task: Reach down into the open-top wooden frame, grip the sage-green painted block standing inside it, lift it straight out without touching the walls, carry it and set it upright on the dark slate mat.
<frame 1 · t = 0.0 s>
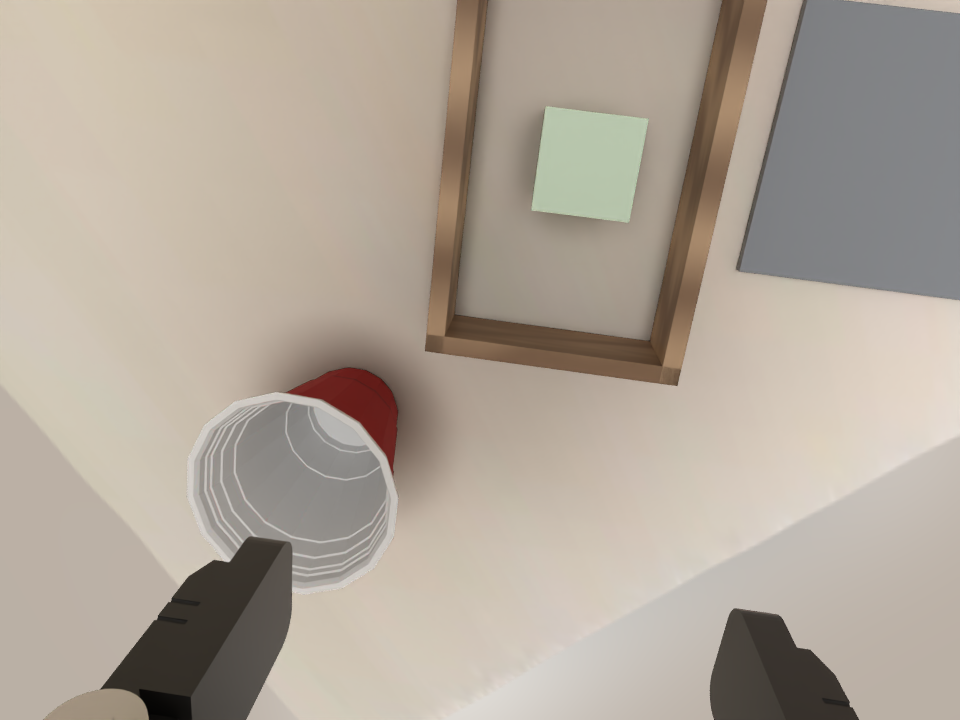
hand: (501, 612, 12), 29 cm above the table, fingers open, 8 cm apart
wooden frame: (578, 158, 37), on the table
sage block: (582, 161, 33), in the wooden frame
slate mat: (898, 158, 36), on the table
plastic cup: (353, 403, 44), on the table
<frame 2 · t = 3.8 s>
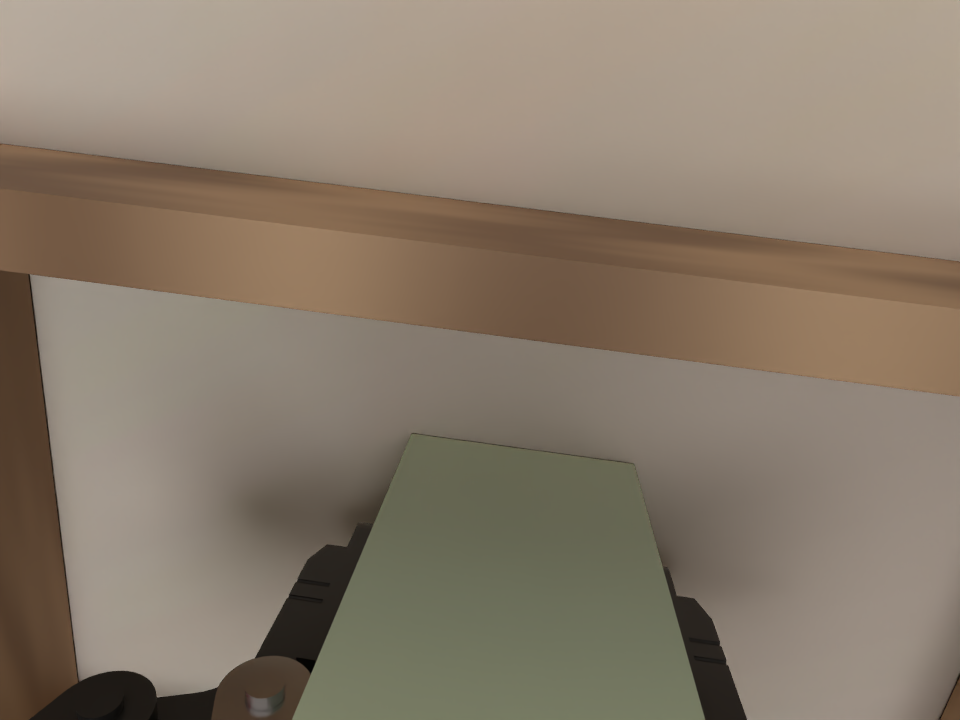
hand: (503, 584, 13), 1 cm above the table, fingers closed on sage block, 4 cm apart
wooden frame: (506, 544, 14), on the table
sage block: (496, 694, 10), in the wooden frame, touching gripper
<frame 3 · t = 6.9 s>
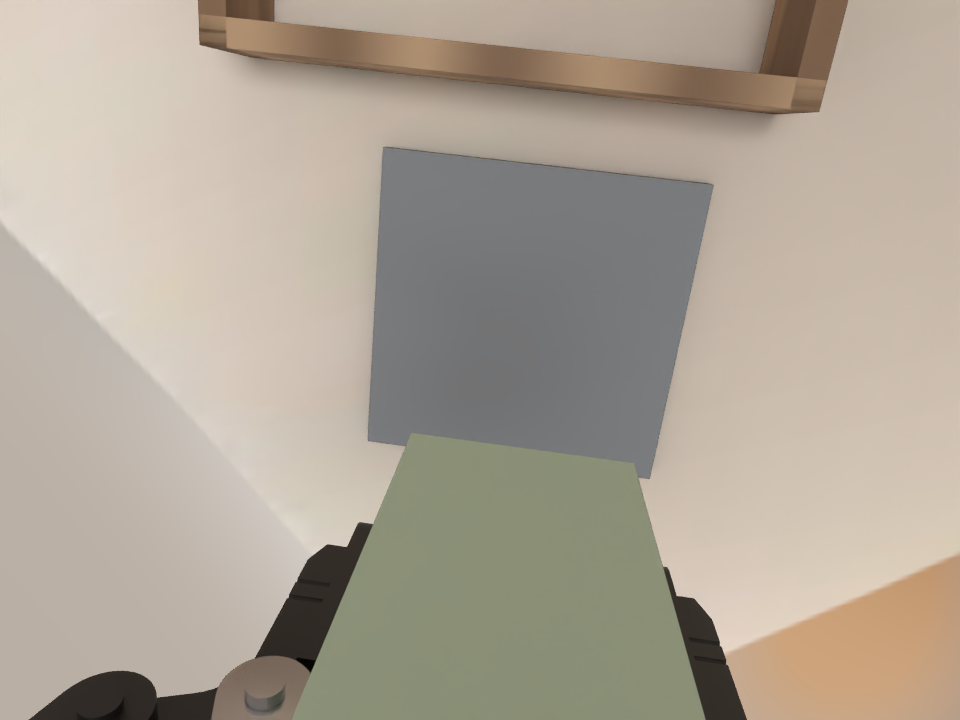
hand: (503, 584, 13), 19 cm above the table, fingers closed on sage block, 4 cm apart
sage block: (496, 693, 10), point 22 cm above the table, touching gripper
slate mat: (525, 320, 31), on the table
when the fingers open (3 cm above the table, at t = 10.2 s): sage block drops 1 cm, resting on slate mat.
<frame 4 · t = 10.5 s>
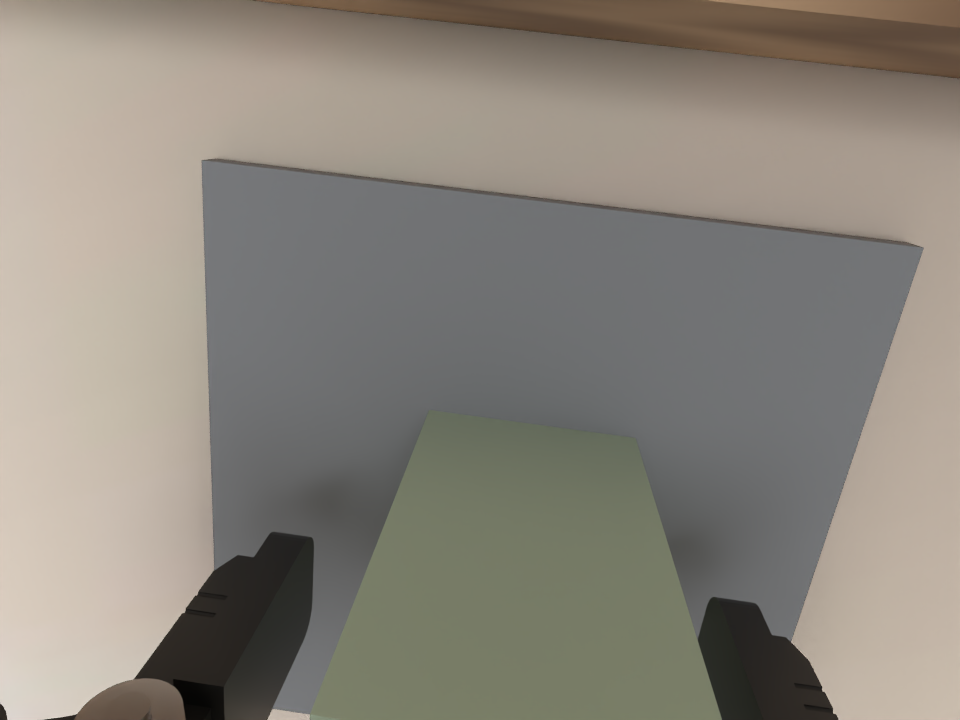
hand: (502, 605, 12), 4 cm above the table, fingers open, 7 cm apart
sage block: (511, 640, 11), on the slate mat, point 5 cm above the table
slate mat: (510, 499, 16), on the table
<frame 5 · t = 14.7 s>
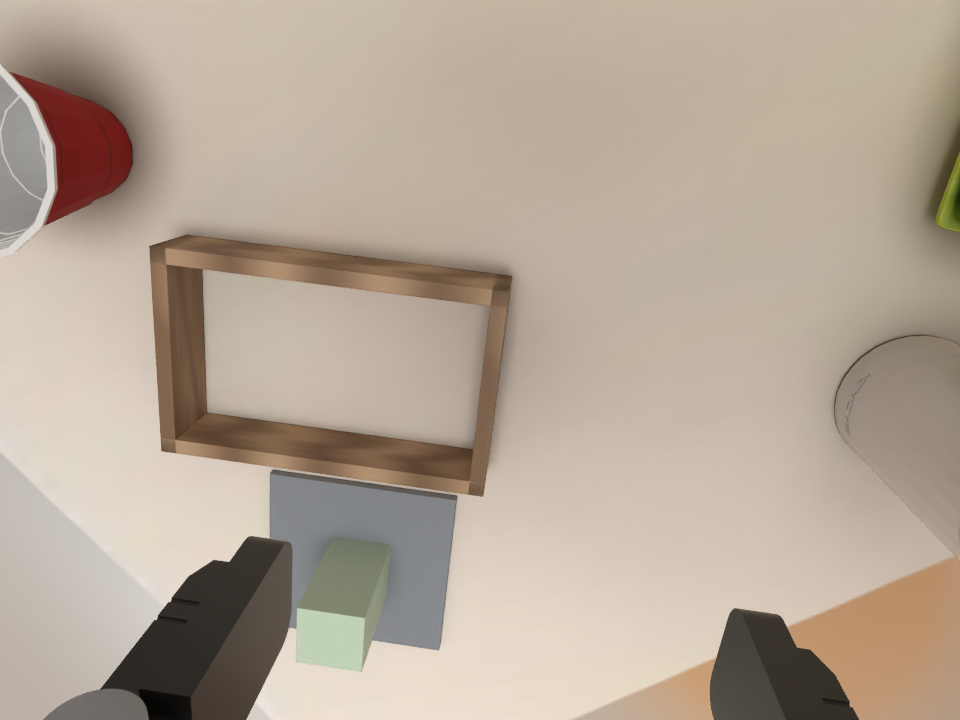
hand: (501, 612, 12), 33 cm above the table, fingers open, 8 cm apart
wooden frame: (343, 354, 46), on the table
sage block: (346, 600, 48), on the slate mat, point 5 cm above the table
slate mat: (359, 560, 52), on the table
plastic cup: (95, 146, 43), on the table
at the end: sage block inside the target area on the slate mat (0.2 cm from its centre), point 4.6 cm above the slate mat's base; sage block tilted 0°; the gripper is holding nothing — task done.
